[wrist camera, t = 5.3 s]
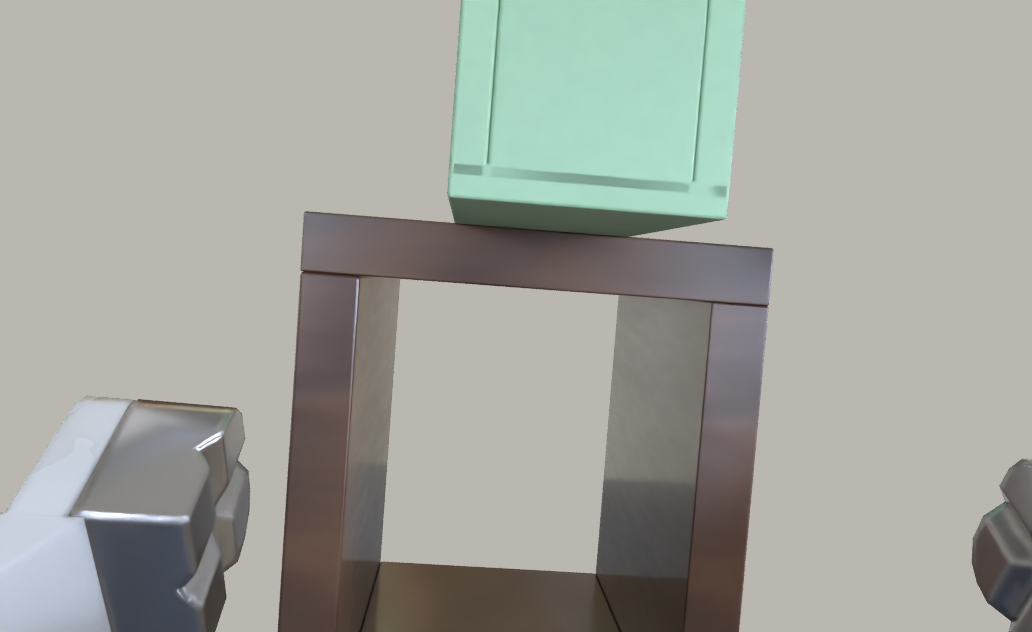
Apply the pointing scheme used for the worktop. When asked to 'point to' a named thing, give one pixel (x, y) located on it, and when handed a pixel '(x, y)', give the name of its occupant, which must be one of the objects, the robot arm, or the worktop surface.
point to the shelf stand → (630, 439)
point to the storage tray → (595, 114)
